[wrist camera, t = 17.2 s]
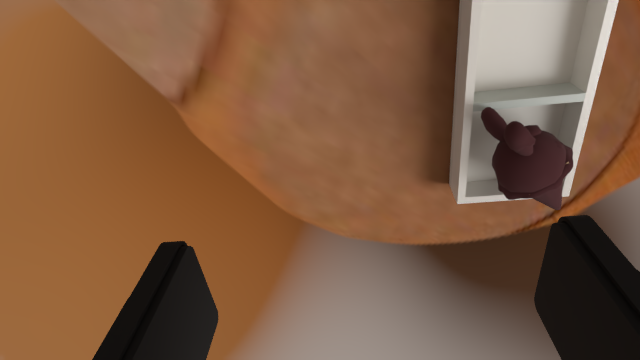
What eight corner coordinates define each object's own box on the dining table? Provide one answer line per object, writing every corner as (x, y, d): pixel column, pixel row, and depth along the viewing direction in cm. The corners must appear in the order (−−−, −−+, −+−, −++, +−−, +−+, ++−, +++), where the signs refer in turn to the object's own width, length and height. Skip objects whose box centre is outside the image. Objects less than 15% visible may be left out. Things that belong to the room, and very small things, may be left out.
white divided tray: (461, -27, 35) (473, -23, 32) (600, -45, 34) (629, -42, 30) (449, 184, 47) (457, 203, 44) (552, 176, 46) (568, 196, 42)
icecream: (616, 203, 38) (563, 98, 31) (552, 251, 40) (486, 161, 32) (564, 170, 44) (508, 75, 37) (509, 212, 46) (446, 129, 38)
